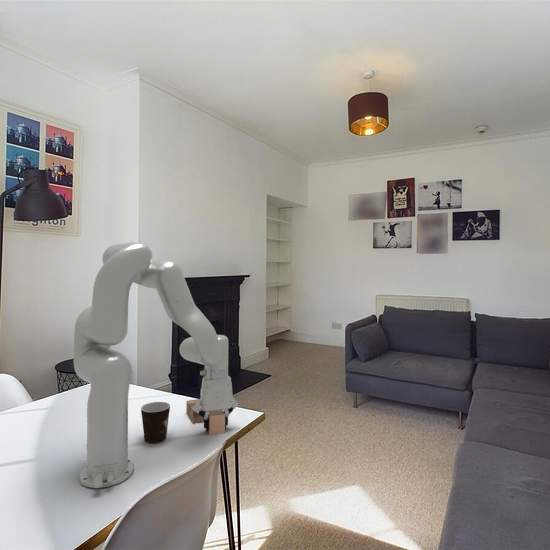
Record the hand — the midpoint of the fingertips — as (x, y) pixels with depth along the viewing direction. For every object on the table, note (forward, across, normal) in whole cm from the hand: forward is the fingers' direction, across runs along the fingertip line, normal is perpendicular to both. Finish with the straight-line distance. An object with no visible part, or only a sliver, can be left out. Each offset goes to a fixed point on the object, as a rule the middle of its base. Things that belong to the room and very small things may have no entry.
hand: (215, 428), depth 120 cm
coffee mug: (+1, -20, -1) cm, 20 cm away
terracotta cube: (+1, 0, 0) cm, 1 cm away
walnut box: (+1, -2, +13) cm, 13 cm away
